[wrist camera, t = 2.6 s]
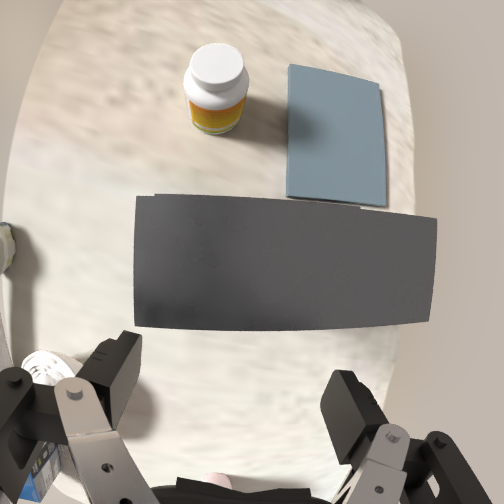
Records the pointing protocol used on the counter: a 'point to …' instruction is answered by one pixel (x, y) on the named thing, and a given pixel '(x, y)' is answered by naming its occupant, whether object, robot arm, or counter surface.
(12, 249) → the grey knobbed handle
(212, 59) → the supplement bottle
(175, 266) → the mounted unit
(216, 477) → the smoothie
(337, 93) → the mat
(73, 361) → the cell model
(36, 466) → the label tape box
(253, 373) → the counter surface
